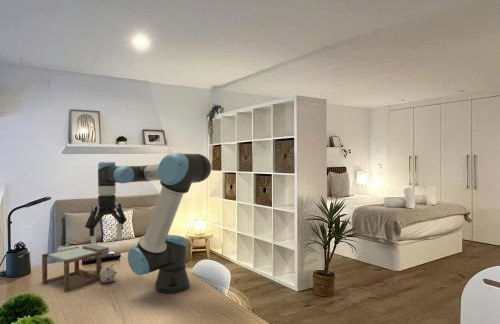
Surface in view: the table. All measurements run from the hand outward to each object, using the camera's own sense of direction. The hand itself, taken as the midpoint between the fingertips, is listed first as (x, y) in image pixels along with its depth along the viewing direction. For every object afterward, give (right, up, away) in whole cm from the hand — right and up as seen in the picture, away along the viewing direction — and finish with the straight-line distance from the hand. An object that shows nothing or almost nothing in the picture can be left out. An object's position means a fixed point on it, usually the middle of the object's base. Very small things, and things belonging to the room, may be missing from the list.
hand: (106, 240), depth 156 cm
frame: (-17, -20, +1) cm, 26 cm away
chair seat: (-15, -10, +4) cm, 18 cm away
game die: (0, -20, 0) cm, 20 cm away
